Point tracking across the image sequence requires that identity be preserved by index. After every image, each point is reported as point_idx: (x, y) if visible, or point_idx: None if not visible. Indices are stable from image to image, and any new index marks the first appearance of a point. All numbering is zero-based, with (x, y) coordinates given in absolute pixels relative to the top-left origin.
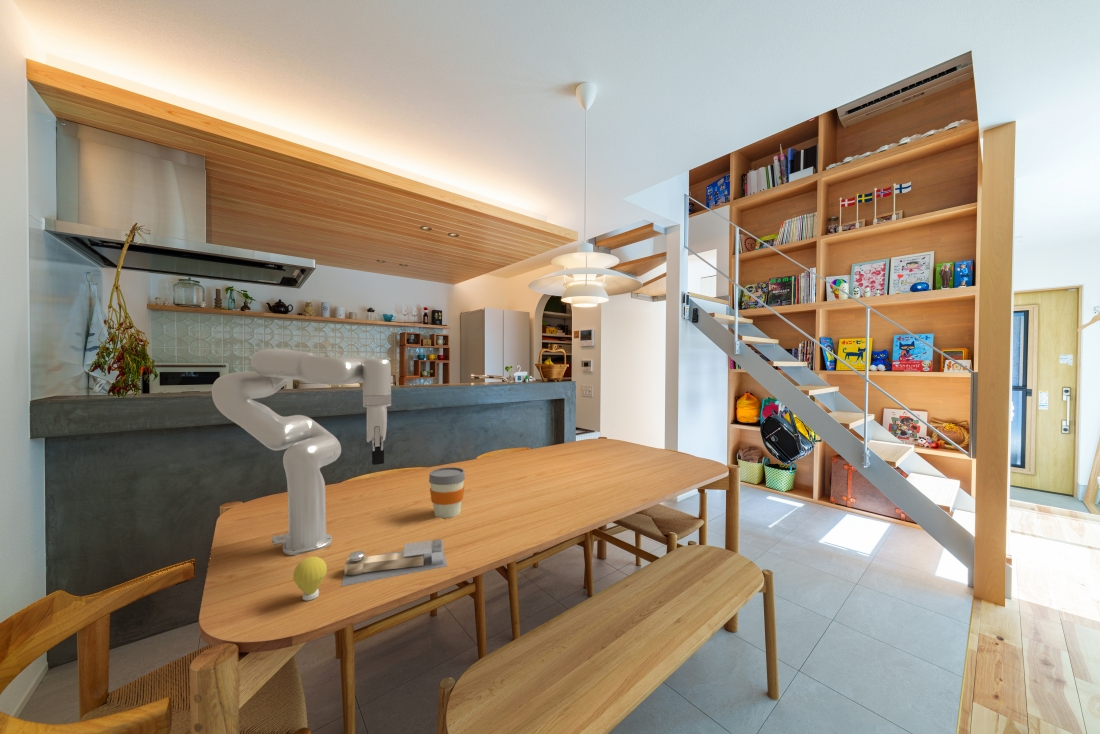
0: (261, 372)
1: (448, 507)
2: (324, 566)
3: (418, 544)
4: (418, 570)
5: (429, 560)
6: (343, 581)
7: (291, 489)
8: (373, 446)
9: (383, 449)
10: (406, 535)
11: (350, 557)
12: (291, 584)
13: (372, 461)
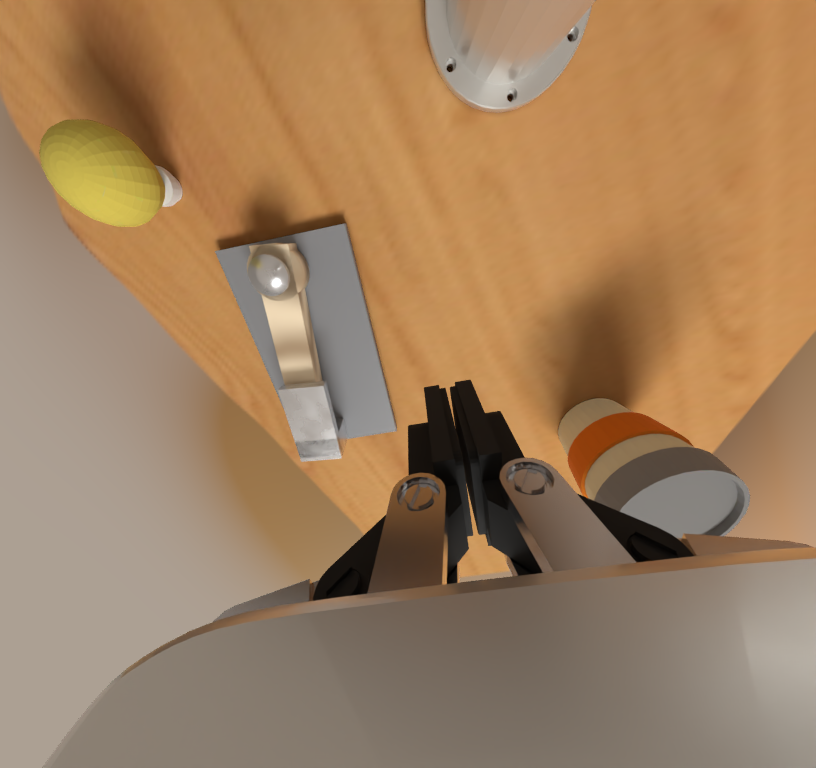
0: None
1: (567, 448)
2: (110, 222)
3: (316, 415)
4: None
5: None
6: (235, 250)
7: None
8: (382, 545)
9: (489, 541)
10: (483, 346)
11: (250, 262)
12: (239, 82)
13: (426, 399)
